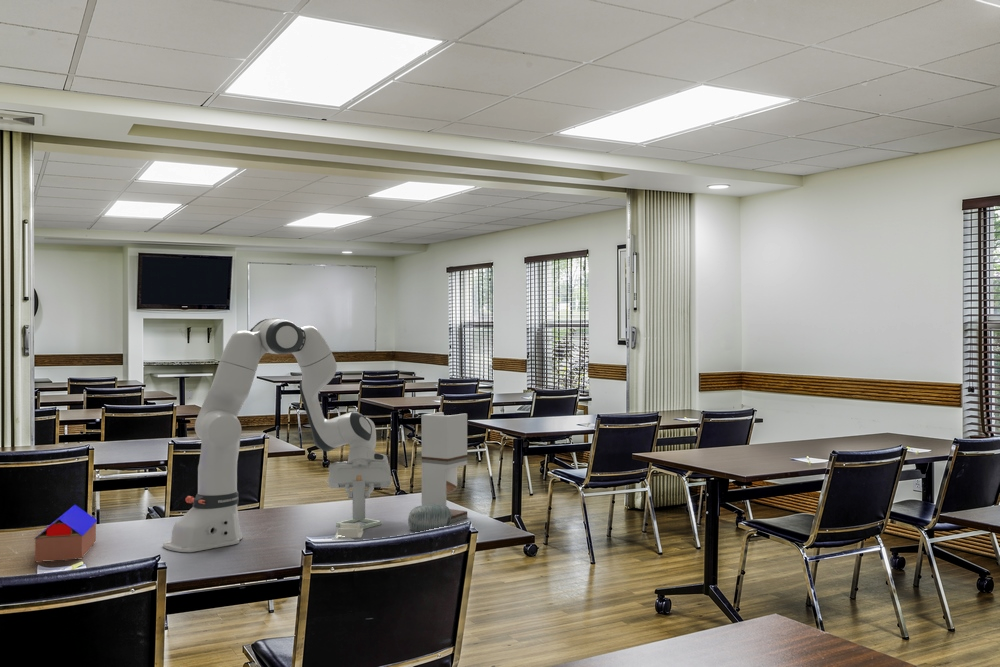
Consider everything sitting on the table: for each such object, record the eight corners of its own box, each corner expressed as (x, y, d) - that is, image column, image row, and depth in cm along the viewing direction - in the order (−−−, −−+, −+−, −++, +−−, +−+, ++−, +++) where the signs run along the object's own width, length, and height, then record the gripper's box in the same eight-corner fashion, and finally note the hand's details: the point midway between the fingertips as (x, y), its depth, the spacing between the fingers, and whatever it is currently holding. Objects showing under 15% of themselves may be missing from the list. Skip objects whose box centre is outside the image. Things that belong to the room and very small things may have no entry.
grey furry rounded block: (447, 514, 260) (444, 491, 255) (456, 533, 252) (452, 509, 247) (407, 527, 256) (402, 503, 251) (414, 547, 249) (410, 523, 244)
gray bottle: (358, 520, 254) (358, 477, 254) (350, 518, 256) (349, 476, 256) (367, 517, 257) (367, 475, 257) (359, 516, 259) (358, 474, 259)
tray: (358, 532, 249) (358, 526, 249) (336, 528, 255) (336, 522, 255) (381, 526, 257) (381, 521, 257) (358, 522, 263) (358, 517, 263)
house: (97, 542, 239) (97, 503, 239) (82, 560, 219) (82, 517, 220) (52, 545, 235) (52, 505, 235) (33, 563, 216) (33, 520, 216)
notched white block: (447, 524, 261) (447, 416, 261) (421, 520, 267) (421, 414, 267) (467, 517, 271) (467, 413, 271) (441, 513, 276) (441, 412, 277)
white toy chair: (334, 540, 240) (334, 529, 240) (338, 531, 251) (338, 520, 251) (361, 540, 240) (361, 528, 240) (364, 531, 252) (364, 520, 252)
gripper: (328, 456, 262) (324, 492, 253) (391, 455, 264) (390, 490, 254) (330, 468, 267) (326, 503, 257) (392, 466, 269) (390, 502, 259)
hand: (358, 497), depth 256 cm, fingers closed on gray bottle, 4 cm apart
